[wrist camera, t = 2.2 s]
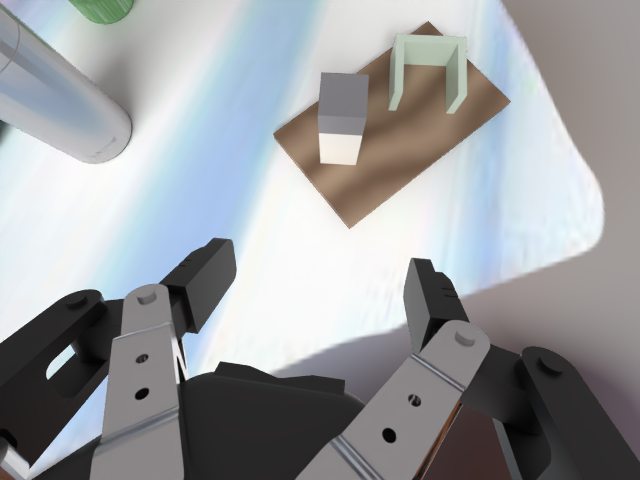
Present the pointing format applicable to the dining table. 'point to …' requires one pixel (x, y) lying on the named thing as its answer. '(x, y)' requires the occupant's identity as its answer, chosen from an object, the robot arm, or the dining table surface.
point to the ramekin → (103, 9)
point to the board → (392, 134)
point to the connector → (342, 116)
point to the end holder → (430, 53)
